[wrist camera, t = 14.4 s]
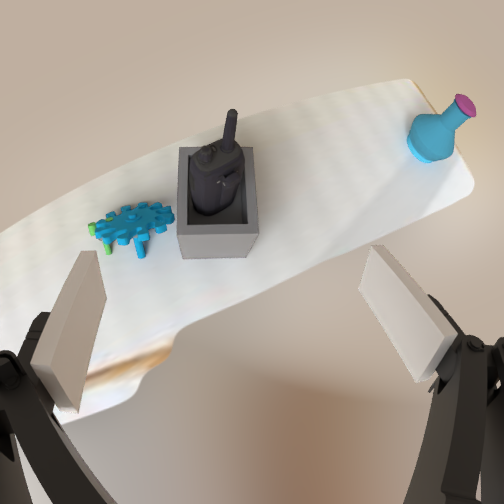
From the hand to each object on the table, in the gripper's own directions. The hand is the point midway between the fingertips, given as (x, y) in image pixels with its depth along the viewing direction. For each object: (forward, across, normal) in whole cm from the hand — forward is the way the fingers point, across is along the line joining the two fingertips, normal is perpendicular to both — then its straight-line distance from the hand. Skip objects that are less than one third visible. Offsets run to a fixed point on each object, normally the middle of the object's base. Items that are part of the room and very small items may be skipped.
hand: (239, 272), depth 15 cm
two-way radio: (+22, 0, -6) cm, 23 cm away
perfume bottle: (+37, +38, +1) cm, 53 cm away
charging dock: (+26, 0, -10) cm, 28 cm away
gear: (+26, -10, -11) cm, 30 cm away
